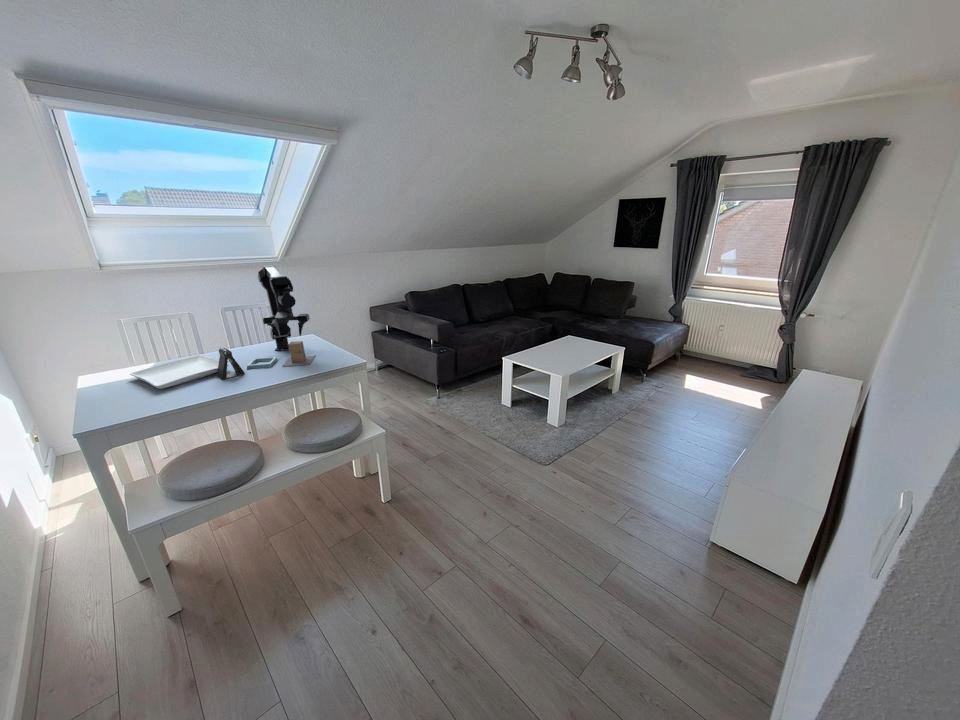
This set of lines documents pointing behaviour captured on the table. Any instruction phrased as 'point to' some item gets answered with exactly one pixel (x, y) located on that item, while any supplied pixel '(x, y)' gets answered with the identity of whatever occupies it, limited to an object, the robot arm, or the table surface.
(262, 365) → the pocket frame
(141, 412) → the table surface
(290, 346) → the oak block
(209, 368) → the square plate
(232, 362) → the phone stand
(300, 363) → the pad
